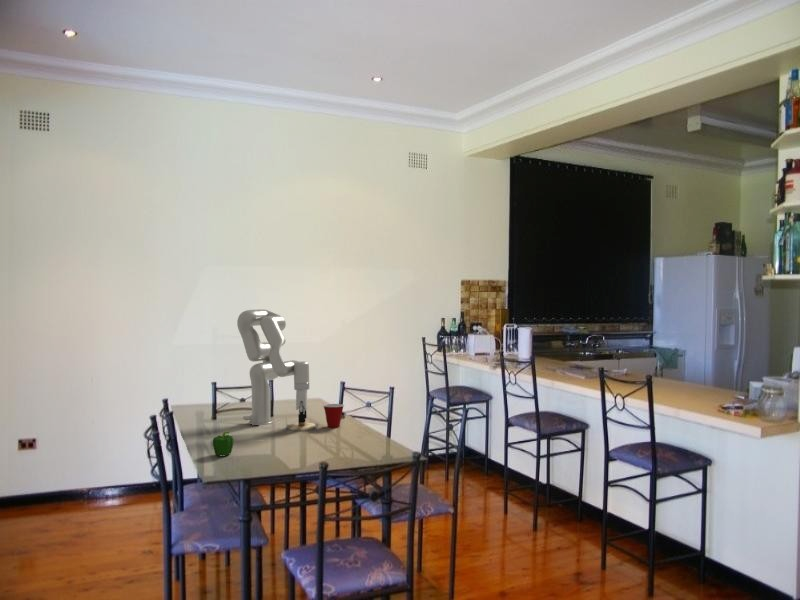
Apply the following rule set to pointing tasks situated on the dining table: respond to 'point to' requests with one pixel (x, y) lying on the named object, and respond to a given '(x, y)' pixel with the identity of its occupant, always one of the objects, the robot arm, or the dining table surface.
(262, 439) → the dining table surface
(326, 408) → the plastic cup
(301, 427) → the lid
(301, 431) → the mat
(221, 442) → the bell pepper
